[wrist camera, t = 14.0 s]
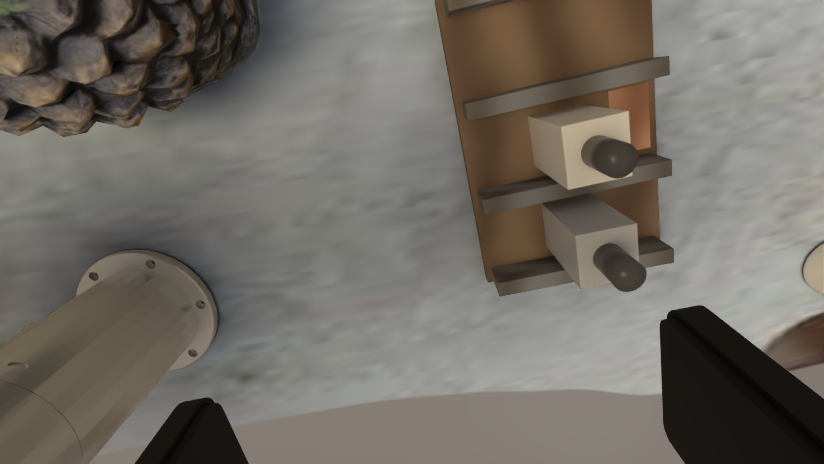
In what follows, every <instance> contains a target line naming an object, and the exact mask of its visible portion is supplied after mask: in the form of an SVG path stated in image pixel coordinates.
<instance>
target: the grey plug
mask: <svg viewBox="0 0 824 464" xmlns="http://www.w3.org/2000/svg"><path fill="white" fill-rule="evenodd" d="M541 206H542V214H543V222H544V229H545V237H546V245H547V247H548V249H549V250H550V251H551V252H552V254H553V255H554V256H555V258H556V259H557V260H558V261H559V263H560V264H561V265H562V266H563V268H564V269H565V270H566V271H567V273H568V274H569V275H570V276H571V278H572V279H573V280H574V282H575V283H576V284H577V285H578V287H579V288H580V289H585V288H590V287H595V286H600V285H606V284H611V283H612V284H613V285H614V286H615V287H616V288H617V289H618V290H620V291H624V292H629V291H633V290H636V289H637V288H639V287H640V286H641V285H642V284H643V283H644V281H645V279H646V270H645V268H644V266H643V265H642V264H640V263H639V250H638V231H637V223H636V222H634V221H633V220H631V219H630V218H628V217H627V216H625V215H623V214H622V213H620V212H619V211H617V210H616V209H614V208H613V207H611V206H609V205H608V204H606V203H605V202H603V201H602V200H600V199H599V198H597V197H596V196H594V195H592V194H591V193H587V194H582V195H577V196H573V197H568V198H563V199H559V200H554V201H549V202H544V203H541Z"/></svg>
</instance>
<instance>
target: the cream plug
mask: <svg viewBox="0 0 824 464" xmlns="http://www.w3.org/2000/svg"><path fill="white" fill-rule="evenodd" d="M528 121H529V128H530V135H531V143H532V150H533V158H534V165H535V166H536V167H537V168H538V169H540V170H541V171H543V172H544V173H545V174H547V175H548V176H549V177H551V178H552V179H554V180H555V181H556V182H558V183H559V184H561V185H562V186H563V187H565V188H566V189H568V190H570V189H575V188H579V187H584V186H588V185H593V184H598V183H602V182H607V181H612V180H616V179H621V178H625V177H630V176H632V171H633V170H634V169H635V167H636V165H637V163H638V152H637V150H636V148H635V147H634V146H633V145H632V144H631V142H630V124H629V111H624V110H617V109H610V108H603V107H597V106H590V105H583V104H577V105H573V106H569V107H565V108H560V109H556V110H552V111H547V112H543V113H539V114H534V115H530V116H528Z"/></svg>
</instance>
